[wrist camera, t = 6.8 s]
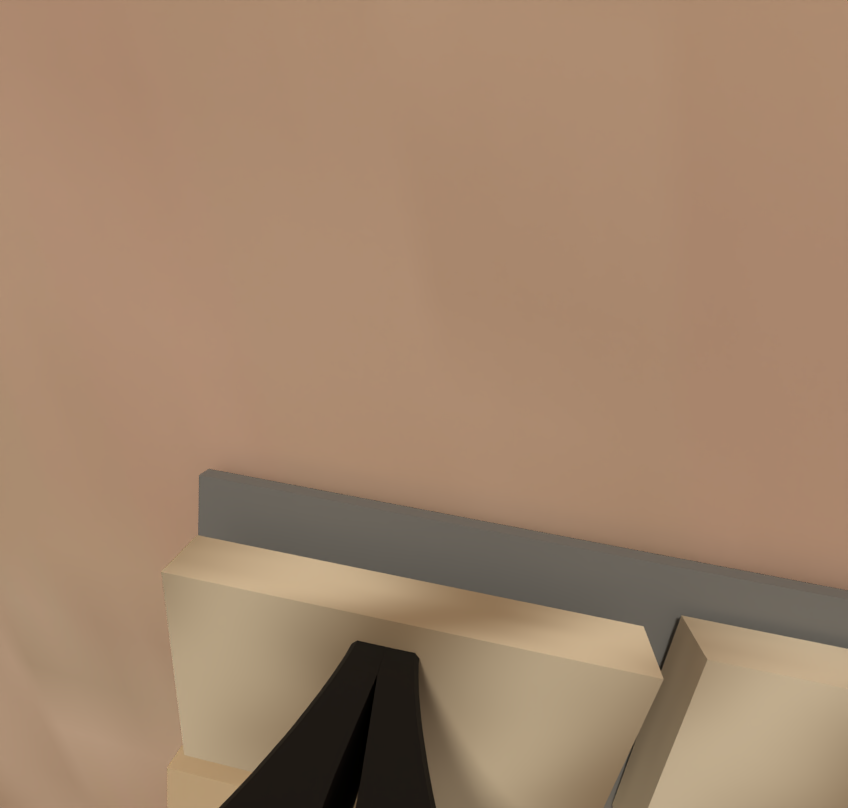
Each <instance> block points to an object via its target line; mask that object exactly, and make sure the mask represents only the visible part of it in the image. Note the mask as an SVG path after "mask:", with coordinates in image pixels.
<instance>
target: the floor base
mask: <svg viewBox="0 0 848 808" xmlns="http://www.w3.org/2000/svg"><path fill="white" fill-rule="evenodd" d="M198 535H199V536H204V537H209V538H214V539H219V540H224V541H229V542H234V543H238V544H243V545H248V546H253V547H258V548H263V549H268V550H273V551H278V552H282V553H287V554H292V555H297V556H302V557H307V558H312V559H317V560H322V561H326V562H331V563H336V564H341V565H346V566H351V567H356V568H361V569H366V570H370V571H375V572H380V573H385V574H390V575H395V576H400V577H405V578H410V579H414V580H419V581H424V582H429V583H434V584H439V585H444V586H449V587H454V588H458V589H463V590H468V591H473V592H478V593H483V594H488V595H493V596H498V597H502V598H507V599H512V600H517V601H522V602H527V603H532V604H537V605H542V606H546V607H551V608H556V609H561V610H566V611H571V612H576V613H581V614H586V615H590V616H595V617H600V618H605V619H610V620H615V621H620V622H625V623H630V624H634V625H639V626H644V629H645V631H646V634H647V637H648V639H649V642H650V645H651V647H652V650H653V652H654V655H655V658H656V660H657V663H658V666H659V668H660V671H661V670H662V667H663V665H664V662H665V659H666V656H667V654H668V651H669V648H670V646H671V643H672V640H673V637H674V635H675V632H676V629H677V626H678V624H679V621H680V618H681V616H687V617H692V618H697V619H702V620H707V621H712V622H717V623H722V624H727V625H732V626H737V627H742V628H747V629H752V630H757V631H762V632H767V633H772V634H777V635H782V636H787V637H792V638H796V639H801V640H806V641H811V642H816V643H821V644H826V645H831V646H836V647H841V648H846V649H848V590H842V589H837V588H832V587H827V586H821V585H816V584H811V583H806V582H800V581H795V580H790V579H785V578H779V577H774V576H769V575H764V574H758V573H753V572H748V571H743V570H737V569H732V568H727V567H722V566H716V565H711V564H706V563H701V562H695V561H690V560H685V559H680V558H674V557H669V556H664V555H659V554H653V553H648V552H643V551H638V550H632V549H627V548H622V547H616V546H611V545H606V544H601V543H595V542H590V541H585V540H580V539H574V538H569V537H564V536H559V535H553V534H548V533H543V532H538V531H532V530H527V529H522V528H517V527H511V526H506V525H501V524H496V523H490V522H485V521H480V520H475V519H469V518H464V517H459V516H454V515H448V514H443V513H438V512H433V511H427V510H422V509H417V508H412V507H406V506H401V505H396V504H391V503H385V502H380V501H375V500H369V499H364V498H359V497H354V496H348V495H343V494H338V493H333V492H327V491H322V490H317V489H312V488H306V487H301V486H296V485H291V484H285V483H280V482H275V481H270V480H264V479H259V478H254V477H249V476H243V475H238V474H233V473H228V472H222V471H217V470H212V469H208V470H206V471H205V472H203V473H202V474H200V475H199V522H198ZM636 738H637V737H636ZM635 741H636V739H635ZM634 744H635V742H634ZM634 744H633V746H634ZM633 746H632V748H631V750H630V752H629V754H628V756H627V759H626V761H625V763H624V765H623V767H622V769H621V771H620V773H619V776H618V778H617V780H616V782H615V784H614V786H613V788H612V791H611V793H610V795H609V797H608V799H607V801H606V803H605V805H604V808H613V806H612V804H613V801H614V798H615V795H616V793H617V790H618V787H619V785H620V782H621V779H622V776H623V774H624V771H625V768H626V765H627V763H628V760H629V757H630V755H631V752H632V749H633ZM251 773H252V772H250V771H246V770H242V769H238V768H234V767H230V766H226V765H222V764H218V763H214V762H210V761H206V760H202V759H198V758H194V757H190V756H186V755H184V749H183V745H182V746H181V748H180V749H179V751H178V752H177V754H176V755H175V757H174V758H173V760H172V761H171V763H170V764H169V766H168V767H167V808H219V807H220V806H221V805H222V804H223V803H224V802H225V801H226V800H227V799H228V798H229V797H230V796H231V795H232V794H233V793H234V791H235V790H236V789H237V788H238V787H239V786H240V785H241V784H242V783H243V782H244V781H245V780H246V779H247V778H248V777H249V775H250V774H251ZM356 802H357V798H356ZM356 802H355V805H354V808H355V807H356Z"/></svg>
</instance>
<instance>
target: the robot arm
mask: <svg viewBox="0 0 848 808" xmlns="http://www.w3.org/2000/svg"><path fill="white" fill-rule="evenodd" d="M357 795H358V797H357ZM356 798H357V802H356ZM355 802H356V807H355V808H436V805H435V800H434V795H433V790H432V785H431V779H430V774H429V768H428V762H427V755H426V749H425V742H424V736H423V728H422V720H421V710H420V699H419V657H418V656H417V655H416V653H413V652H408V651H404V650H399V649H394V648H390V647H385V646H381V645H376V644H371V643H367V642H362V641H358V640H357V641H355V642H354V643H352V644H351V646H350V647H349V649H348V651H347V653H346V654H345V656H344V657H343V659H342V660H341V662H340V663H339V665H338V666H337V668H336V669H335V671H334V672H333V674H332V675H331V677H330V678H329V679H328V681H327V682H326V683H325V685H324V686H323V688H322V689H321V690H320V692H319V693H318V694H317V696H316V697H315V698H314V700H313V701H312V702H311V703H310V705H309V706H308V707H307V708H306V710H305V711H304V712H303V714H302V715H301V716H300V717H299V719H298V720H297V721H296V722H295V724H294V725H293V726H292V727H291V729H290V730H289V731H288V732H287V733H286V735H285V736H284V737H283V738H282V739H281V740H280V741H279V743H278V744H277V745H276V746H275V747H274V748H273V749H272V751H271V752H270V753H269V754H268V755H267V756H266V757H265V759H264V760H263V761H262V762H261V763H260V764H259V765H258V767H257V768H256V769H255V770H254V771H253V772H252V773H251V774H250V775H249V777H248V778H247V779H246V780H245V781H244V782H243V783H242V784H241V785H240V786H239V787H238V788H237V789H236V790H235V791H234V793H233V794H232V795H231V796H230V797H229V798H228V799H227V800H226V801H225V802H224V803H223V804H222V805H221V806H220V807H219V808H354V805H355Z"/></svg>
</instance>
